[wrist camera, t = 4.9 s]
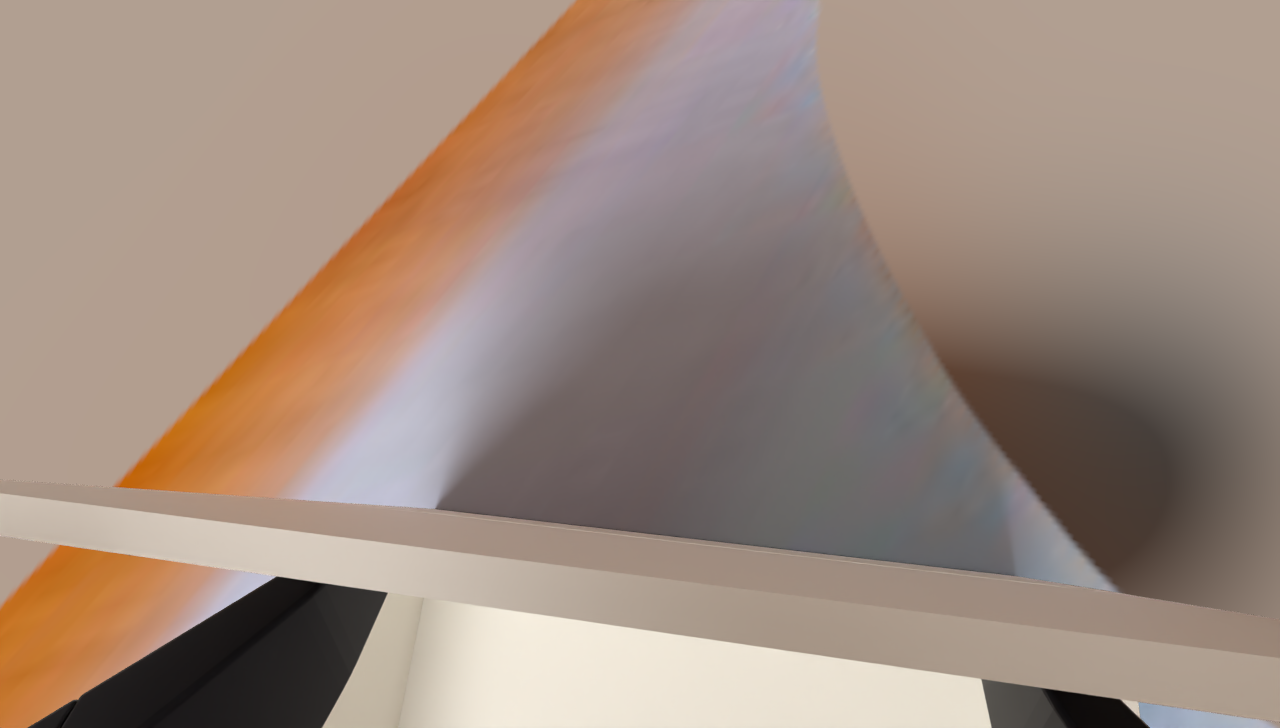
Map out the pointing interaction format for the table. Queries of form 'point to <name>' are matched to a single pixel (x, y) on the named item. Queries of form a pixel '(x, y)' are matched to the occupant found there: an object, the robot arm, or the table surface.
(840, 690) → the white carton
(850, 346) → the table surface
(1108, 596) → the box flap
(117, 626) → the table surface
